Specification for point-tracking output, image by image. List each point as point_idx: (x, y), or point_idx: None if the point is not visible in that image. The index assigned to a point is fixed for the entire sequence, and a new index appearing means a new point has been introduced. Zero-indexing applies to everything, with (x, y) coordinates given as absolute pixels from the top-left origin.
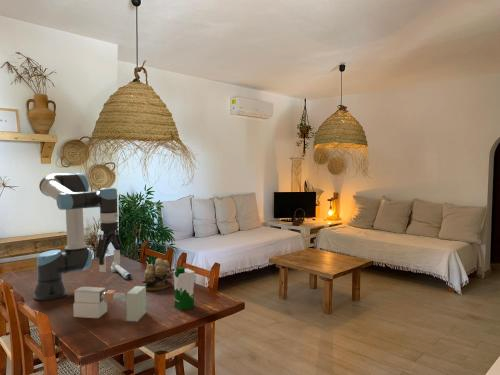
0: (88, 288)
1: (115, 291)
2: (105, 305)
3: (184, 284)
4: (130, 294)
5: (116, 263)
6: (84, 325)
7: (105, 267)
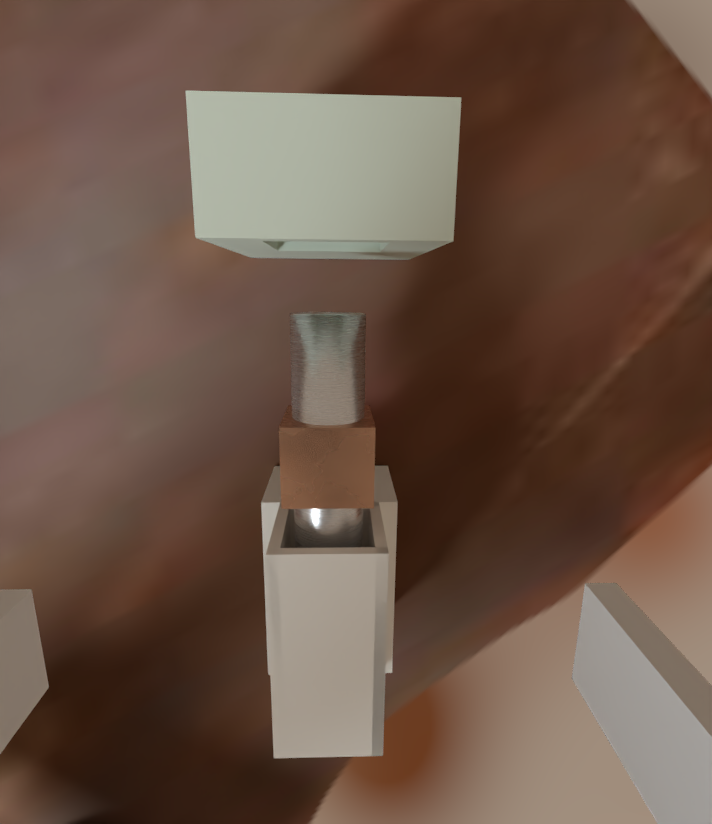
0: (313, 682)
1: (308, 426)
2: None
3: None
4: (455, 188)
5: (39, 645)
6: (494, 492)
7: (656, 639)
